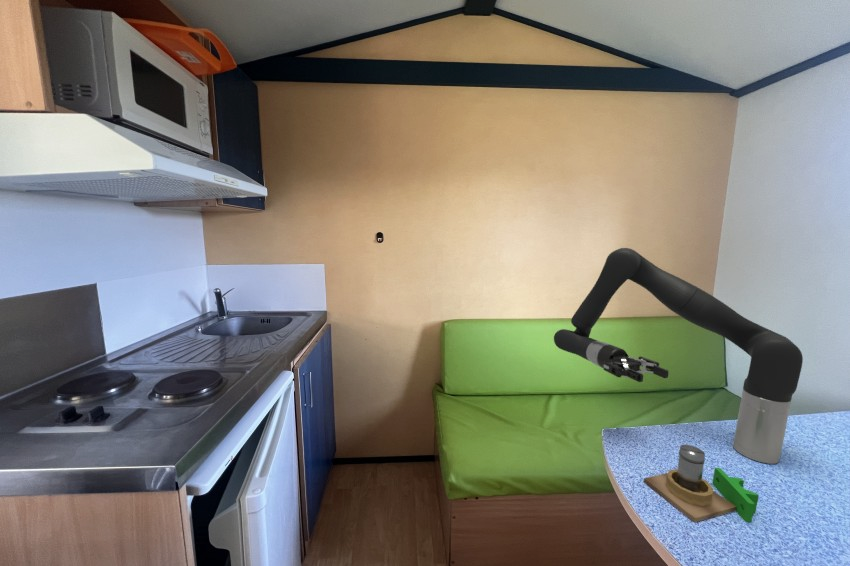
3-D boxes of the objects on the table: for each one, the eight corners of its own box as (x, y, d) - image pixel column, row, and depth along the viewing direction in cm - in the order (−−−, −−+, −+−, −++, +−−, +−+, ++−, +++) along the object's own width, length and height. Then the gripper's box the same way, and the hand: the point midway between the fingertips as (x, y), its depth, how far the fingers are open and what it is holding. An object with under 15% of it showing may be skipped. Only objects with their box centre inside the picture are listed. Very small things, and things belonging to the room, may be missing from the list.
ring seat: (681, 473, 86) (683, 460, 86) (735, 510, 75) (738, 496, 75) (643, 482, 83) (645, 468, 83) (694, 522, 72) (696, 507, 71)
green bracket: (765, 526, 72) (769, 506, 71) (744, 522, 72) (748, 503, 72) (729, 486, 83) (733, 469, 82) (711, 484, 83) (715, 466, 82)
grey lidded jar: (685, 482, 82) (690, 443, 80) (705, 496, 77) (710, 455, 76) (669, 485, 81) (674, 446, 79) (689, 500, 76) (694, 458, 75)
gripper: (587, 346, 104) (634, 365, 88) (625, 342, 108) (676, 360, 92) (586, 370, 105) (632, 393, 89) (623, 365, 109) (674, 386, 93)
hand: (654, 376), depth 91 cm, fingers open, 8 cm apart
